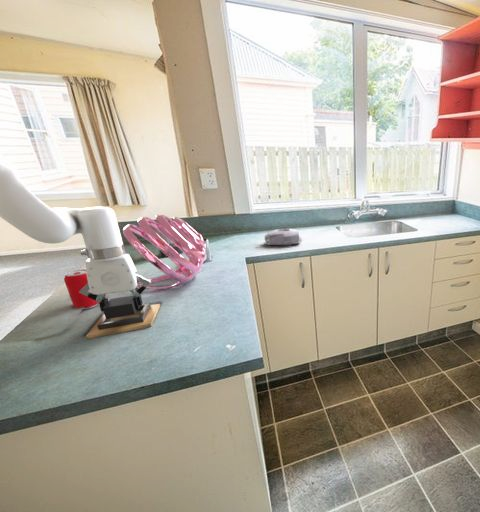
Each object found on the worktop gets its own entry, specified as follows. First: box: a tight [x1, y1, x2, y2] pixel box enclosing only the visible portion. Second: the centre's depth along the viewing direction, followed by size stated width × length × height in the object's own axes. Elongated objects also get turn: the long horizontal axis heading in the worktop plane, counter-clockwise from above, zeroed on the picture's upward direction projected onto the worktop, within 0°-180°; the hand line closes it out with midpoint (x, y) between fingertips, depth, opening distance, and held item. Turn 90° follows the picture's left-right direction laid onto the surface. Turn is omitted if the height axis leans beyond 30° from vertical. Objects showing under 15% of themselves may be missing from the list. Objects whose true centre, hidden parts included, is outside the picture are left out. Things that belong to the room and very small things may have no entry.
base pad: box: [86, 303, 161, 340], centre depth 88 cm, size 14×14×2 cm
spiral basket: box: [122, 214, 207, 291], centre depth 111 cm, size 28×28×27 cm
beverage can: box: [63, 269, 99, 311], centre depth 95 cm, size 6×6×12 cm
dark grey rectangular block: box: [102, 295, 137, 319], centre depth 87 cm, size 6×6×4 cm
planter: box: [198, 238, 213, 263], centre depth 139 cm, size 4×4×10 cm
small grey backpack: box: [263, 228, 301, 246], centre depth 171 cm, size 15×8×20 cm
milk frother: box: [153, 227, 190, 258], centre depth 151 cm, size 14×16×15 cm
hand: (123, 309), depth 87 cm, fingers closed on dark grey rectangular block, 6 cm apart
